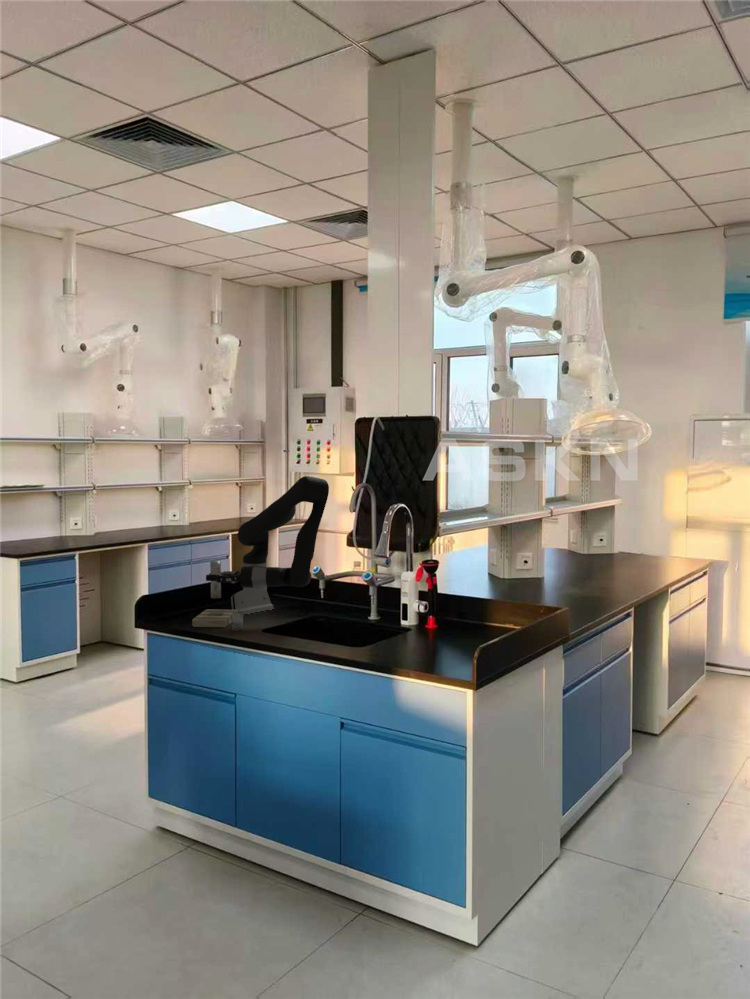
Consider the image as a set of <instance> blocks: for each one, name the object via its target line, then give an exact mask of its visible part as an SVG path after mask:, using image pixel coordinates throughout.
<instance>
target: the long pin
mask: <svg viewBox="0 0 750 999" xmlns="http://www.w3.org/2000/svg"><path fill="white" fill-rule="evenodd" d="M209 566H210V569H209V570H210V572H209V573H211V575H217V574H221V572H222V570H221V569H222V568H221V561H219V560H212V561H210V565H209ZM220 580H221V577H220ZM210 598H211V599H221V598H222V583H218V582H216V581H210Z"/></svg>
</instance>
